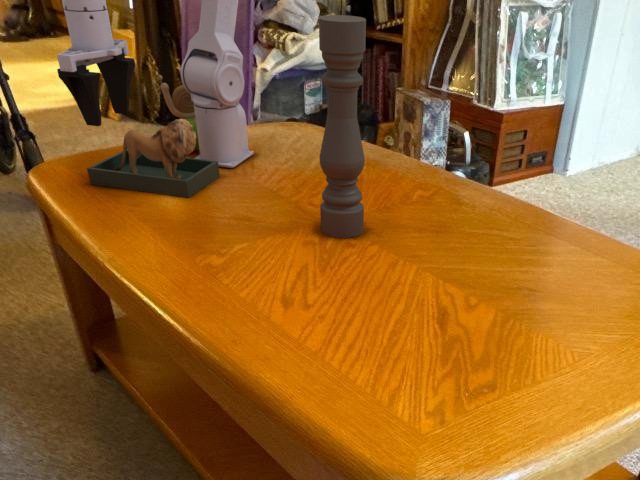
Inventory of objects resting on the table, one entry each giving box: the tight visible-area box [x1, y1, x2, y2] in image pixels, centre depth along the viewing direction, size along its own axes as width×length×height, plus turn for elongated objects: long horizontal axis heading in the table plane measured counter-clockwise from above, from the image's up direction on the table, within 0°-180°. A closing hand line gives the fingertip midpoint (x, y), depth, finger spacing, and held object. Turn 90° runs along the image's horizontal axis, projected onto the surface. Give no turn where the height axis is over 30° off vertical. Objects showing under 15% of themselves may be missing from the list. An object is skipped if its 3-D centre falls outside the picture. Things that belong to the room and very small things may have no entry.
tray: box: [86, 150, 220, 198], centre depth 110 cm, size 11×17×2 cm, turn 75°
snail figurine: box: [158, 74, 199, 152], centre depth 120 cm, size 5×6×12 cm
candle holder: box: [318, 14, 367, 239], centre depth 89 cm, size 6×6×25 cm
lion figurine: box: [114, 118, 196, 179], centre depth 107 cm, size 15×5×9 cm, turn 80°
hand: (108, 119), depth 102 cm, fingers open, 7 cm apart
